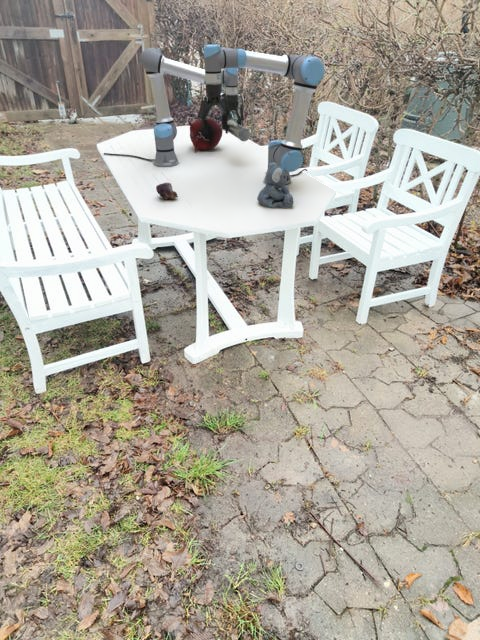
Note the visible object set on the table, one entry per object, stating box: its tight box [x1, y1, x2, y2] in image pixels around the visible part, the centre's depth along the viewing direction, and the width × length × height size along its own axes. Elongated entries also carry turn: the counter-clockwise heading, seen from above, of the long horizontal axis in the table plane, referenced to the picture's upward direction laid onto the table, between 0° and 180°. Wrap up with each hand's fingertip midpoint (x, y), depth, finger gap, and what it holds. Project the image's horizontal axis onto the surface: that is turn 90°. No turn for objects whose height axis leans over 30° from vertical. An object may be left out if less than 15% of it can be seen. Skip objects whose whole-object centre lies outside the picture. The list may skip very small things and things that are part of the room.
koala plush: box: [256, 163, 294, 209], centre depth 226 cm, size 17×18×20 cm
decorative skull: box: [187, 117, 224, 153], centre depth 321 cm, size 21×24×25 cm
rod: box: [227, 119, 251, 142], centre depth 286 cm, size 27×8×8 cm, turn 19°
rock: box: [155, 182, 178, 200], centre depth 237 cm, size 12×9×10 cm
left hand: (232, 132), depth 296 cm, fingers closed on rod, 8 cm apart
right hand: (215, 131), depth 222 cm, fingers open, 13 cm apart
